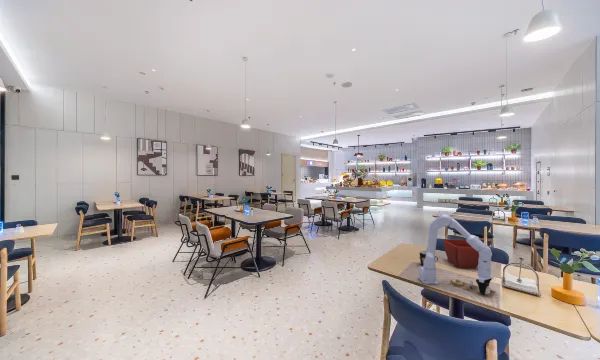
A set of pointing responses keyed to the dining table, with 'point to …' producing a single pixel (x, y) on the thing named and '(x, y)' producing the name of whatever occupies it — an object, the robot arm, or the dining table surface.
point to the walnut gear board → (466, 286)
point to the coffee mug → (423, 257)
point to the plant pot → (461, 254)
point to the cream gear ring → (486, 290)
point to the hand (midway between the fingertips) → (483, 291)
